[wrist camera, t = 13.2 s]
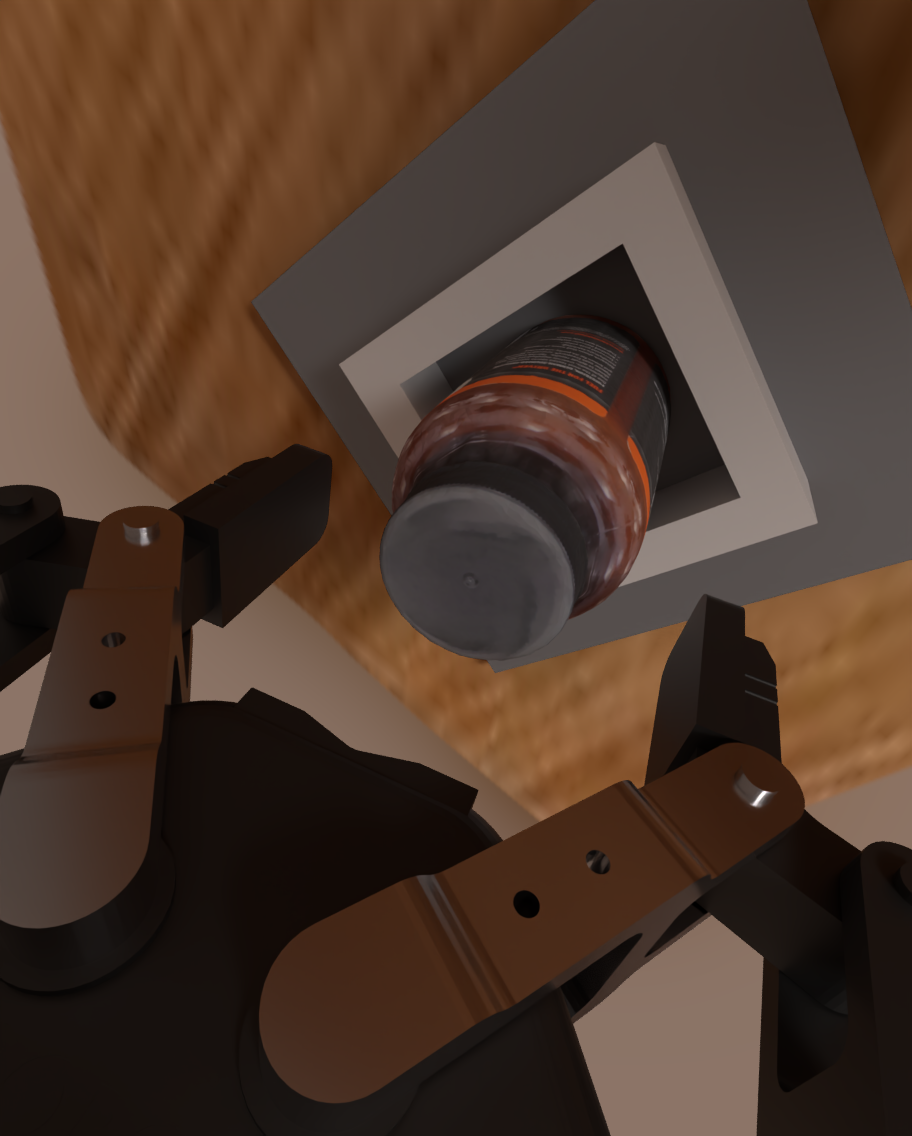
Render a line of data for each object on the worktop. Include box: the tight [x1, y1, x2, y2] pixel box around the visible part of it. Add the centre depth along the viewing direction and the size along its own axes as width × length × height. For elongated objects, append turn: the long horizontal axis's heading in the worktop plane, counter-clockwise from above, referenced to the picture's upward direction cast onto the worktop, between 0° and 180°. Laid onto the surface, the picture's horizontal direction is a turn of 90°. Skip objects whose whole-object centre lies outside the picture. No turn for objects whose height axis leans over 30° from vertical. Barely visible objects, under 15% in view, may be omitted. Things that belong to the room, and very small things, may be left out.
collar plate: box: [252, 0, 912, 673], centre depth 20 cm, size 18×18×4 cm
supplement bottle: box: [380, 315, 671, 661], centre depth 17 cm, size 6×6×11 cm
